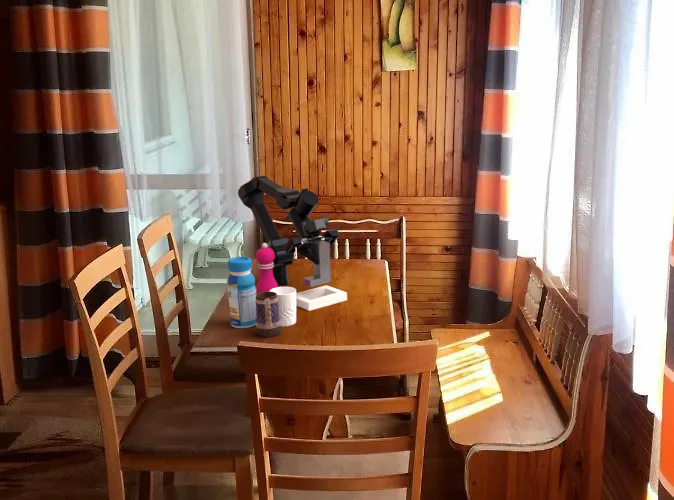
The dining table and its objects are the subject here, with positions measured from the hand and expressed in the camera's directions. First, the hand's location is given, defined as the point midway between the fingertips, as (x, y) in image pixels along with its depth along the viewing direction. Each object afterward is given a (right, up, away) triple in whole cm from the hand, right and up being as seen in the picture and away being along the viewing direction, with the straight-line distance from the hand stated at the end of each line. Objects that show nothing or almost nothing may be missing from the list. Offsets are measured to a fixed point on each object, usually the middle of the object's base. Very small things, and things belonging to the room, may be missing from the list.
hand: (323, 262), depth 237 cm
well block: (-2, -12, +3) cm, 13 cm away
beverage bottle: (-23, -18, -15) cm, 33 cm away
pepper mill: (-18, -13, +3) cm, 23 cm away
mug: (-15, -20, -24) cm, 35 cm away
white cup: (-11, -18, -15) cm, 26 cm away
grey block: (-2, -6, +2) cm, 7 cm away
